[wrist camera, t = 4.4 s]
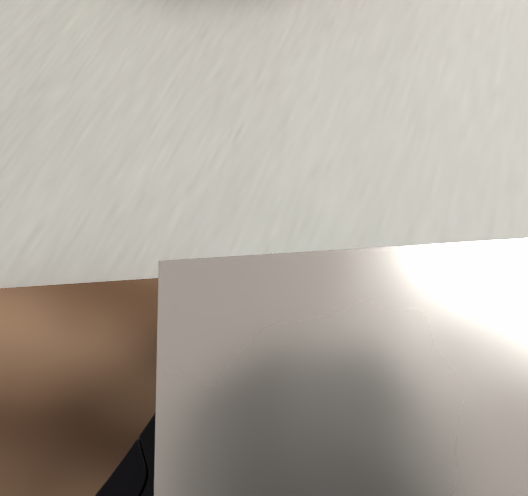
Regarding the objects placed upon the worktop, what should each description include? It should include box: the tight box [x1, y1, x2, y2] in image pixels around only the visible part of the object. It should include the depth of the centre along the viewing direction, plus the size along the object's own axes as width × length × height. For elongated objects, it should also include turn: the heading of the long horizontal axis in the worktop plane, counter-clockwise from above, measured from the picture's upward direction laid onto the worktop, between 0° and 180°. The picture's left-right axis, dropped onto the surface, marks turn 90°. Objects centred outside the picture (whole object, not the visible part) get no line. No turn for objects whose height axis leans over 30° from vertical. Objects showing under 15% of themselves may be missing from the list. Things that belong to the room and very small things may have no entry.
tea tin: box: [154, 238, 528, 496], centre depth 9 cm, size 5×5×12 cm
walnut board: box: [0, 278, 158, 496], centre depth 14 cm, size 14×14×2 cm
